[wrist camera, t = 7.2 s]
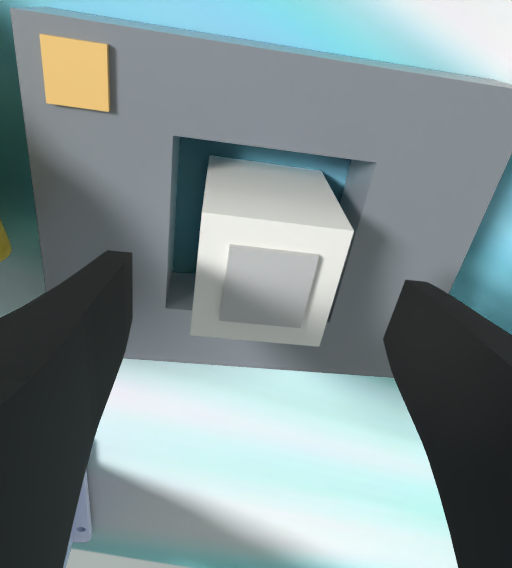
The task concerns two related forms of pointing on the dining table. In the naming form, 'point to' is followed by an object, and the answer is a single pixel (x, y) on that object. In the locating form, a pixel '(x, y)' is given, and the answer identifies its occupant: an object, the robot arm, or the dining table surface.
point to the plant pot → (4, 244)
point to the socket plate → (260, 133)
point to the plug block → (267, 253)
